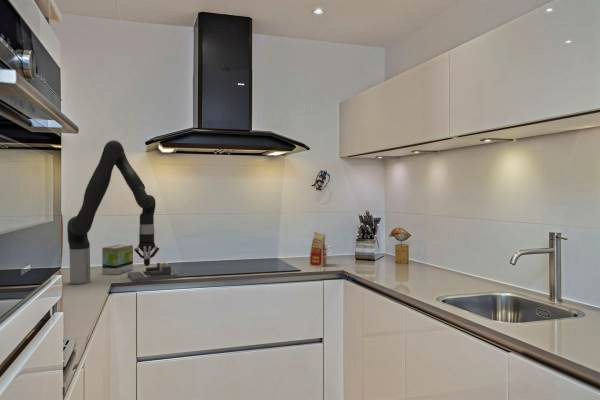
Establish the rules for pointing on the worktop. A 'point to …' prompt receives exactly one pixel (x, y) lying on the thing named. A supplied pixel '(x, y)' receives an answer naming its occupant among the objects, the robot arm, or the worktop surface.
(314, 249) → the red food bag
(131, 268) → the tea box
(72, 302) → the worktop surface
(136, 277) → the breaker panel
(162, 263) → the breaker
